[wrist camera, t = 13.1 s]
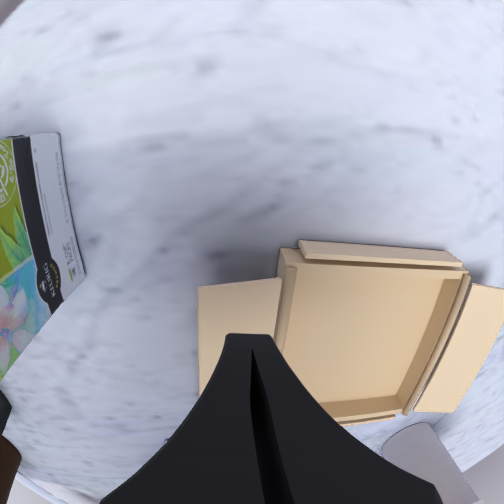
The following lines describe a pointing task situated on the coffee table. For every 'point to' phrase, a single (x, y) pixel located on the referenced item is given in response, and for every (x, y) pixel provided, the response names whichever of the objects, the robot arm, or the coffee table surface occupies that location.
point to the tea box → (33, 240)
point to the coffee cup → (429, 463)
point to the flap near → (233, 317)
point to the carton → (365, 323)
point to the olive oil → (7, 467)
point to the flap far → (464, 349)
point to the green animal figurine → (4, 412)
